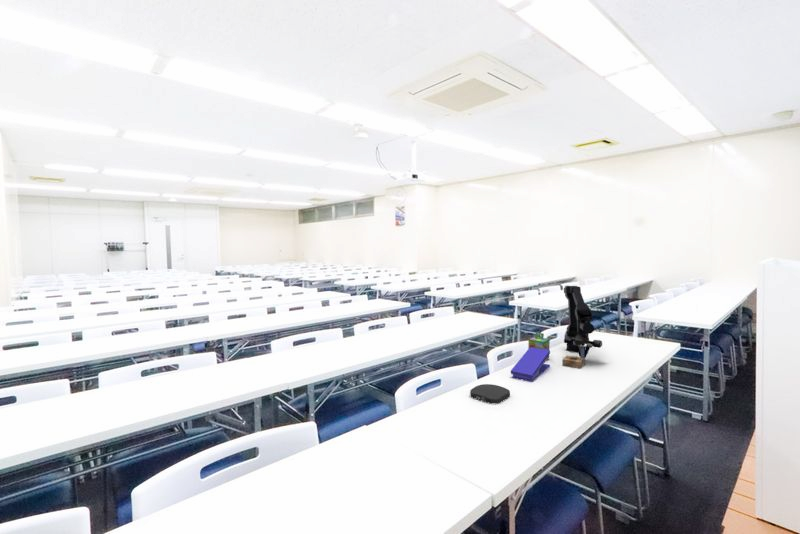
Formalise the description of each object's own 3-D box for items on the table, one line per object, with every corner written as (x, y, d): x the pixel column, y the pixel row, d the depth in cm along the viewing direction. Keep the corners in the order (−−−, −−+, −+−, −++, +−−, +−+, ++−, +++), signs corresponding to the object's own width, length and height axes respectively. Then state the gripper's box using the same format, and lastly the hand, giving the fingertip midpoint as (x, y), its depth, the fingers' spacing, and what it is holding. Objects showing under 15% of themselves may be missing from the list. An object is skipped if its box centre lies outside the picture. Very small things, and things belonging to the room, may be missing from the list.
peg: (579, 360, 216) (579, 346, 216) (581, 359, 218) (581, 345, 218) (584, 361, 215) (584, 347, 214) (585, 360, 217) (585, 346, 216)
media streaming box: (513, 395, 171) (513, 389, 171) (496, 406, 161) (495, 399, 161) (484, 387, 181) (484, 381, 181) (466, 397, 171) (466, 390, 171)
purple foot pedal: (551, 367, 208) (551, 349, 207) (533, 383, 185) (533, 362, 185) (529, 363, 215) (529, 346, 214) (510, 378, 192) (510, 359, 192)
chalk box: (527, 359, 221) (527, 333, 220) (534, 355, 228) (534, 330, 227) (543, 362, 215) (543, 336, 214) (549, 358, 222) (549, 332, 221)
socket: (562, 365, 208) (562, 359, 208) (567, 361, 215) (567, 355, 215) (580, 368, 203) (580, 362, 203) (584, 364, 210) (584, 357, 210)
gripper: (561, 330, 215) (561, 357, 216) (598, 334, 203) (597, 363, 204) (566, 326, 223) (566, 352, 224) (602, 330, 212) (602, 358, 213)
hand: (582, 356), depth 216 cm, fingers closed on peg, 2 cm apart
